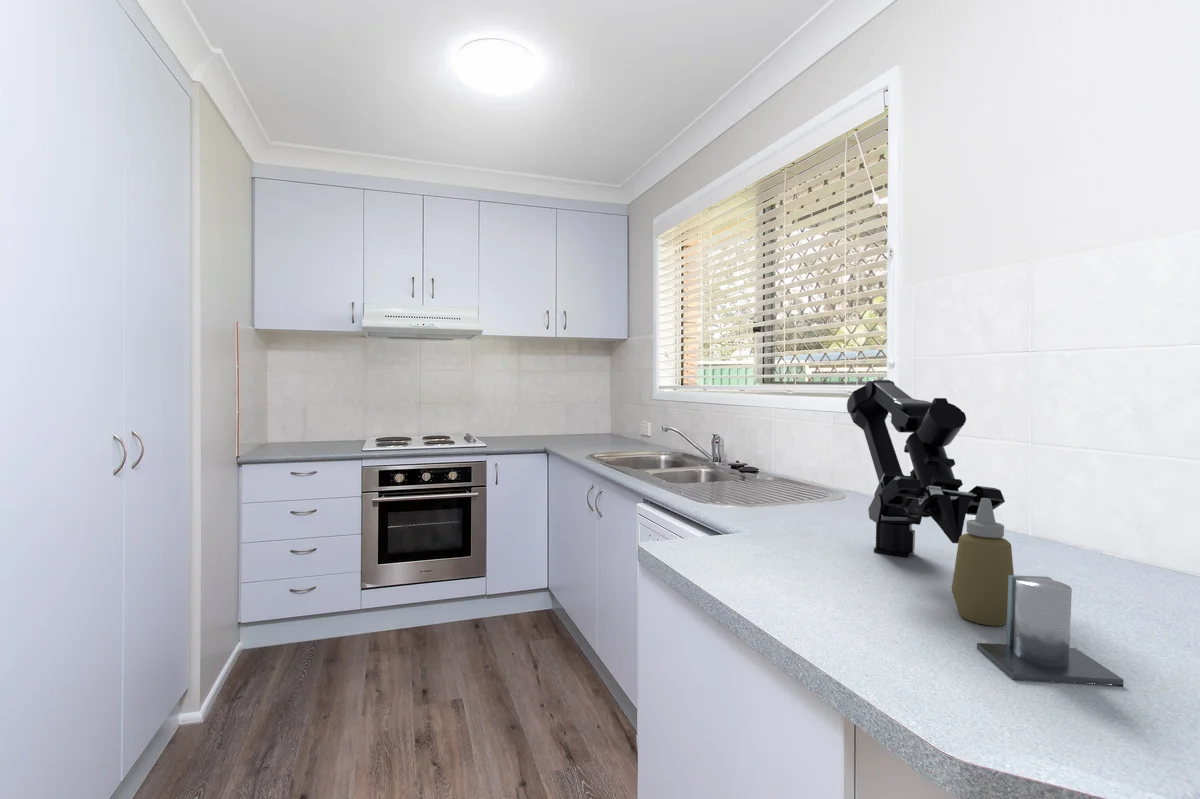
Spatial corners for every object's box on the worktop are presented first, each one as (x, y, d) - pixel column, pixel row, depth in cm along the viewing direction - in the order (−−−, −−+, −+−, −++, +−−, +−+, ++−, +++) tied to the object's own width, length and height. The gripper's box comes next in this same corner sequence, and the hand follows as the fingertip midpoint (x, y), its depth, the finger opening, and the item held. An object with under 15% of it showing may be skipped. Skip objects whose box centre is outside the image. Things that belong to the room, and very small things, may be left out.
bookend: (977, 648, 77) (979, 573, 77) (1075, 654, 76) (1078, 578, 75) (1012, 679, 69) (1015, 596, 69) (1123, 686, 68) (1126, 601, 67)
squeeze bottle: (1004, 612, 89) (1008, 495, 89) (1024, 634, 82) (1028, 506, 81) (944, 605, 92) (948, 491, 91) (957, 625, 84) (961, 502, 84)
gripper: (953, 488, 112) (980, 567, 102) (858, 477, 111) (877, 555, 101) (990, 458, 103) (1023, 541, 94) (888, 445, 102) (911, 528, 93)
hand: (956, 542), depth 95 cm, fingers closed
